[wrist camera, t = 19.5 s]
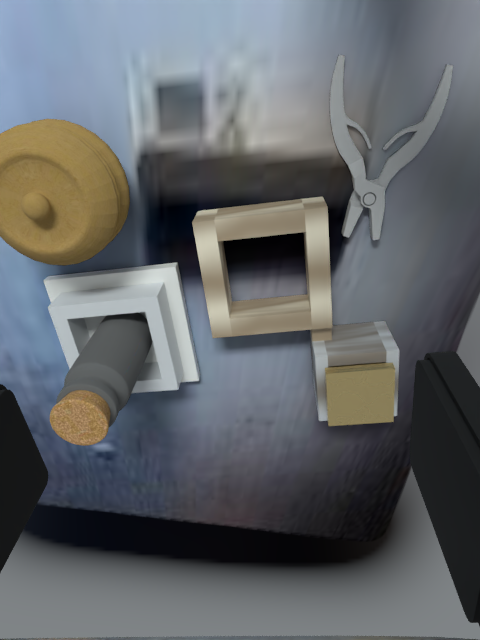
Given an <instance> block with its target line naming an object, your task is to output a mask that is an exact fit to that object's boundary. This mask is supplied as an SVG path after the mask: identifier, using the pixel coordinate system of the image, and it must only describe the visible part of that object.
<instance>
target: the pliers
mask: <svg viewBox="0 0 480 640" xmlns="http://www.w3.org/2000/svg"><path fill="white" fill-rule="evenodd" d="M344 61H345V55H338V59H337V62H336V65H335V69H334V73H333V77H332V81H331V89H330V103H329V109H330V121H331V128H332V133H333V137H334V141H335V144H336V146H337V149H338V151H339V153H340V155H341V156H342V157H343V159H344V160H345V162H346V163H347V165H348V167H349V170H350V172H351V175H352V182H353V188H354V191H353V193H352V195H351V197H350V200H349V204H348V208H347V212H346V216H345V220H344V224H343V228H342V234H343V236H345V237H348V238H349V237H350V235H351V233H352V231H353V229H354V226H355V224H356V222H357V220H358V218H359V216H360V214H361V212H362V210H363V206H364V207H367V208H369V223H370V237H371V238H372V240H378V239H379V238H380V232H381V227H382V221H383V215H384V209H385V190H386V188H387V186H388V184H389V182H390V180H391V179H392V178H393V177H394V175H395V174H396V173H397V172H398V171H399V170H400V169H401V168H402V167H404V166H405V165H406V164H407V163H409V162H410V161H411V160H413V159H414V157H415V156H416V155H417V154H418V153H419V152H420V151H421V150H422V148H423V147H424V145H425V144H426V142H427V141H428V140H429V138H430V136H431V135H432V133H433V131H434V129H435V128H436V125H437V123H438V121H439V119H440V117H441V115H442V112H443V110H444V107H445V104H446V101H447V97H448V94H449V90H450V84H451V78H452V70H453V65H446V66H445V69H444V72H443V75H442V78H441V80H440V83H439V85H438V88H437V91H436V93H435V96H434V98H433V101H432V103H431V105H430V107H429V109H428V111H427V113H426V115H425V116H424V118H423V120H422V121H421V122H419V123H417V124H416V125H413V126H410V127H407V128H405V129H403V130H401V131H400V132H398V133H396V134H395V135H394V136H393V137H392V138H391V139H390V140H389V141H388V142H387V143H386V145H385V146H384V147H383V149H384V150H386V149H387V148H388V147H389V146H390V145H391V144H392V143H393V142H394V141H395V140H396V139H397V138H398V137H400V136H402V135H404V134H406V133H407V132H414V131H416V132H415V133H414V134H413V136H412V137H411V138H410V140H409V141H408V142H407V143H405V144H404V145H403V146H402V147H401V148H400V149H399V150H398V151H397V152H395V153H394V154H393V155H392V156H391V157H389V158H388V159H387V161H386V163H385V165H384V167H383V169H382V171H381V173H380V175H379V177H378V179H374V180H367V179H366V172H365V166H364V161H363V157H362V156H361V154H360V152H359V151H358V149H357V148H356V146H355V144H354V142H353V141H352V139H351V137H350V135H349V132H348V128H347V125H349V126H352V127H355V128H356V129H357V130H358V131H359V132H360V133H361V134H362V136H363V137H364V139H365V141H366V144H367V146H368V148H369V149H370V148H372V147H371V144H370V141H369V139H368V137H367V135H366V133H365V131H364V130H363V129H362V128H361V127H360V126H359V125H358V124H357V123H356V122H354V121H352V120H351V119H349V118H348V117H347V116H346V114H345V112H344V100H343V77H344ZM346 124H347V125H346Z"/></svg>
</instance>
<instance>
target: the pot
mask: <svg viewBox="0 0 480 640" xmlns="http://www.w3.org/2000/svg"><path fill="white" fill-rule="evenodd" d="M129 204H130V198H129V186H128V182H127V178H126V175H125V172H124V170H123V168H122V166H121V163H120V161H119V159H118V158H117V156H116V155H115V154H114V152H113V151H112V150H111V148H110V147H109V146H108V145H107V144H106V143H105V142H104V141H103V140H102V139H100V138H99V137H98V136H97V135H96V134H94V133H93V132H91V131H89V130H87V129H86V128H84V127H82V126H80V125H78V124H74V123H71V122H68V121H65V120H56V119H44V120H39V121H33V122H31V123H28V124H22V125H18V126H15V127H13V128H11V129H9V130H7V131H5V132H3V133H1V134H0V236H1V238H2V239H3V240H4V241H5V242H6V243H7V244H9V245H10V246H11V247H13V248H14V249H15V250H17V251H18V252H19V253H21V254H23V255H25V256H27V257H29V258H31V259H33V260H35V261H39V262H43V263H46V264H51V265H71V264H78V263H80V262H83V261H86V260H88V259H90V258H92V257H93V256H95V255H96V254H97V253H99V252H100V251H101V250H103V249H104V248H105V247H106V245H107V244H108V243H109V242H111V241H112V240H113V239H114V238H115V237H116V235H117V234H118V233H119V232H120V230H121V229H122V227H123V225H124V223H125V220H126V218H127V215H128V209H129Z"/></svg>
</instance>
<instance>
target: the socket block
mask: <svg viewBox="0 0 480 640" xmlns="http://www.w3.org/2000/svg"><path fill="white" fill-rule="evenodd" d="M192 224H193V230H194V235H195V241H196V246H197V252H198V258H199V263H200V269H201V274H202V280H203V286H204V291H205V297H206V302H207V308H208V314H209V319H210V325H211V330H212V336H213V338H220V337H232V336H243V335H254V334H266V333H277V332H288V331H300V330H310V339H311V354H312V370H313V385H314V392H315V399H316V405H317V411H318V417H319V421H328V420H327V403H326V383H325V368H328V366H340V365H353V364H365V363H378V362H382V363H393V364H394V367H395V392H394V416H397V400H398V374H399V349H398V347H397V344H396V342H395V340H394V338H393V336H392V334H391V332H390V330H389V328H388V326H387V324H386V322H385V321H378V322H367V323H356V324H345V325H333V326H332V303H331V278H330V252H329V227H328V207H327V205H326V203H325V201H324V199H323V197H314V198H306V199H297V200H289V201H280V202H271V203H263V204H254V205H246V206H237V207H229V208H220V209H211V210H203V211H198V212H197V214H196V216H195V218H194V220H193V222H192ZM300 232H303V233H304V248H305V263H306V278H307V294H306V295H295V296H285V297H275V298H264V299H254V300H243V301H233V302H232V297H231V291H230V284H229V277H228V271H227V264H226V257H225V251H224V244H223V241H227V240H237V239H246V238H255V237H264V236H273V235H282V234H291V233H300Z"/></svg>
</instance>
